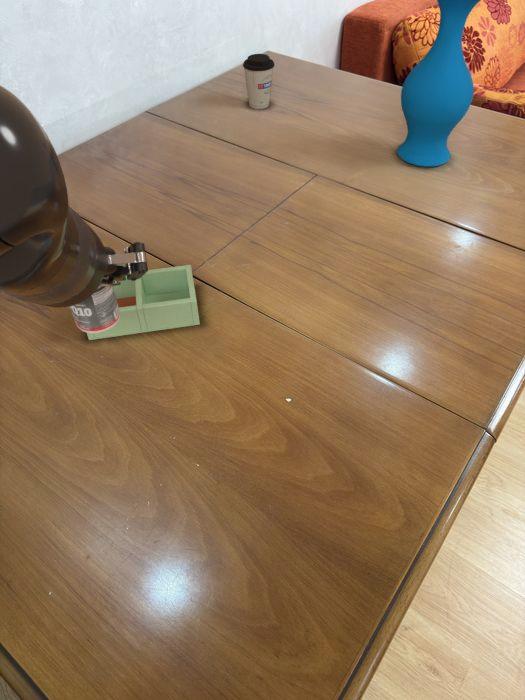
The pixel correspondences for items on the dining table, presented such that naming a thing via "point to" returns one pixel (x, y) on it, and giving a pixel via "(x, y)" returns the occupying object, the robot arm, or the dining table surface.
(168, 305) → the holder
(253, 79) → the coffee cup
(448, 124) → the vase
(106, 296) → the pill bottle
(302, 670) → the dining table surface
